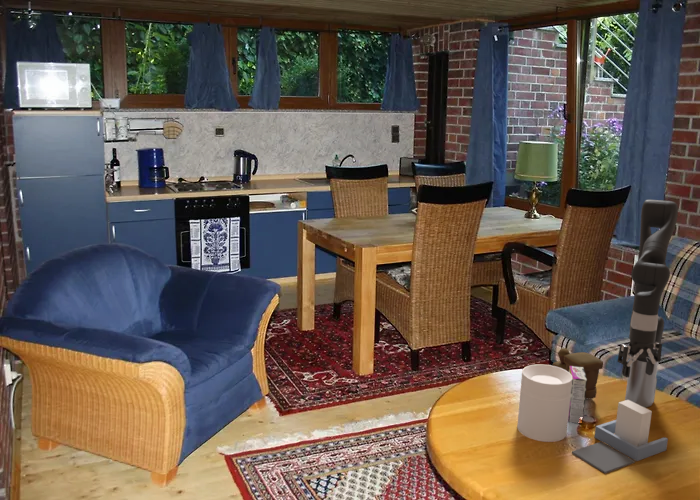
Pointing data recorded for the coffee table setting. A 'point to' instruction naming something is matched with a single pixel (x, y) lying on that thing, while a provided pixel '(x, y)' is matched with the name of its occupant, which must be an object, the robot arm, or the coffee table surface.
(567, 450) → the coffee table surface
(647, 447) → the frame
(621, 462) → the rubber pad
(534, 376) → the canister
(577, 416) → the candy bar box
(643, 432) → the packed carton
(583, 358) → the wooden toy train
